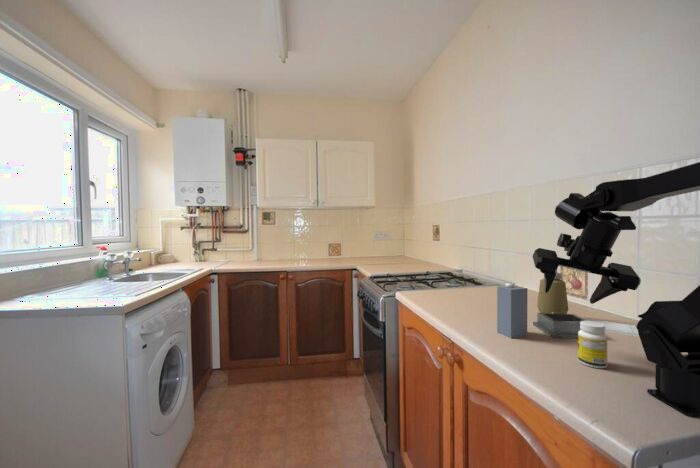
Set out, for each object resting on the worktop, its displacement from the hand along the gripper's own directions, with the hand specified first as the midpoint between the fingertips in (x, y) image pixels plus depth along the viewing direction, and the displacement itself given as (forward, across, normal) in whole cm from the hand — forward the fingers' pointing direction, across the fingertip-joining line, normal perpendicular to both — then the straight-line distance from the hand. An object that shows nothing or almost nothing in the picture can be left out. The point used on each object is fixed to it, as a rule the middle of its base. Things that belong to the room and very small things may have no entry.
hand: (567, 296), depth 69 cm
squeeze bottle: (+20, -6, -17) cm, 27 cm away
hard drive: (+17, -18, -14) cm, 28 cm away
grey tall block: (+15, +8, +1) cm, 17 cm away
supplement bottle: (+7, -4, +13) cm, 15 cm away
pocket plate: (+15, -5, -6) cm, 17 cm away
